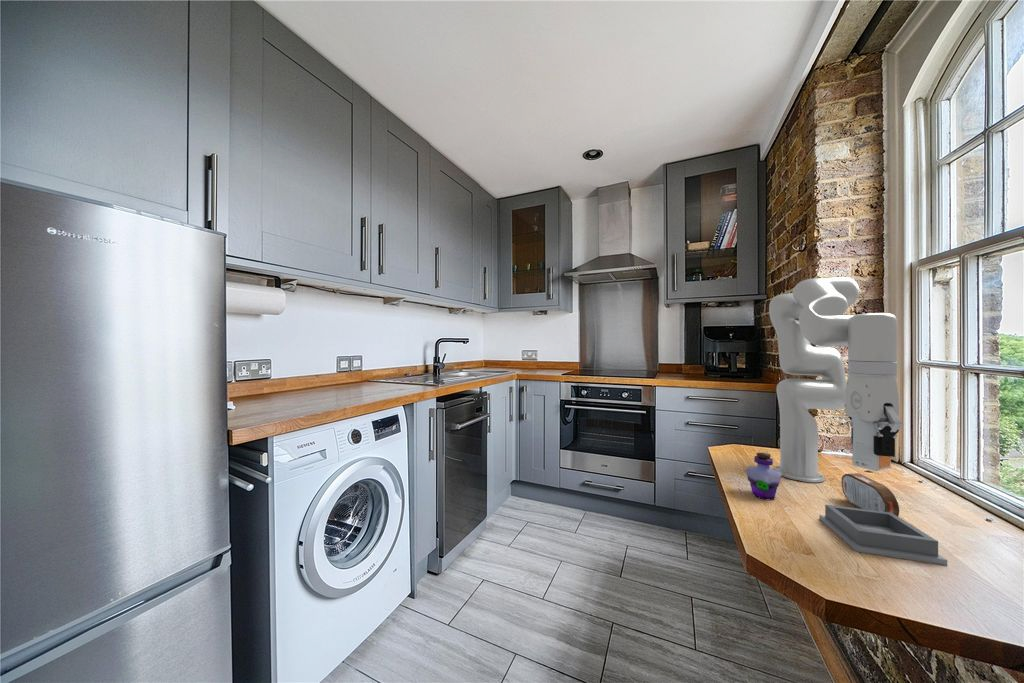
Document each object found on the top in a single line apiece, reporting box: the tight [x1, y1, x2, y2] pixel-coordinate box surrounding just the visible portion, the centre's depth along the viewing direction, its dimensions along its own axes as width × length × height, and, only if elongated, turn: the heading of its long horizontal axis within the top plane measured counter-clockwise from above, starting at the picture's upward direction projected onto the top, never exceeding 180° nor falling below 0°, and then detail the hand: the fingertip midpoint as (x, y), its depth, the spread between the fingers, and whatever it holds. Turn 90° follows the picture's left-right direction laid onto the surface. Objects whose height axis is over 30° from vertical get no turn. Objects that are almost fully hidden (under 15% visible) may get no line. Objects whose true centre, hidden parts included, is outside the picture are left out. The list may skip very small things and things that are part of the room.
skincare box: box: [851, 412, 892, 472], centre depth 76 cm, size 6×4×12 cm
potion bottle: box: [745, 452, 782, 501], centre depth 97 cm, size 9×9×12 cm
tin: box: [841, 472, 900, 517], centre depth 89 cm, size 15×3×8 cm, turn 168°
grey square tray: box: [818, 504, 948, 566], centre depth 75 cm, size 14×14×4 cm
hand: (871, 449), depth 76 cm, fingers closed on skincare box, 6 cm apart
